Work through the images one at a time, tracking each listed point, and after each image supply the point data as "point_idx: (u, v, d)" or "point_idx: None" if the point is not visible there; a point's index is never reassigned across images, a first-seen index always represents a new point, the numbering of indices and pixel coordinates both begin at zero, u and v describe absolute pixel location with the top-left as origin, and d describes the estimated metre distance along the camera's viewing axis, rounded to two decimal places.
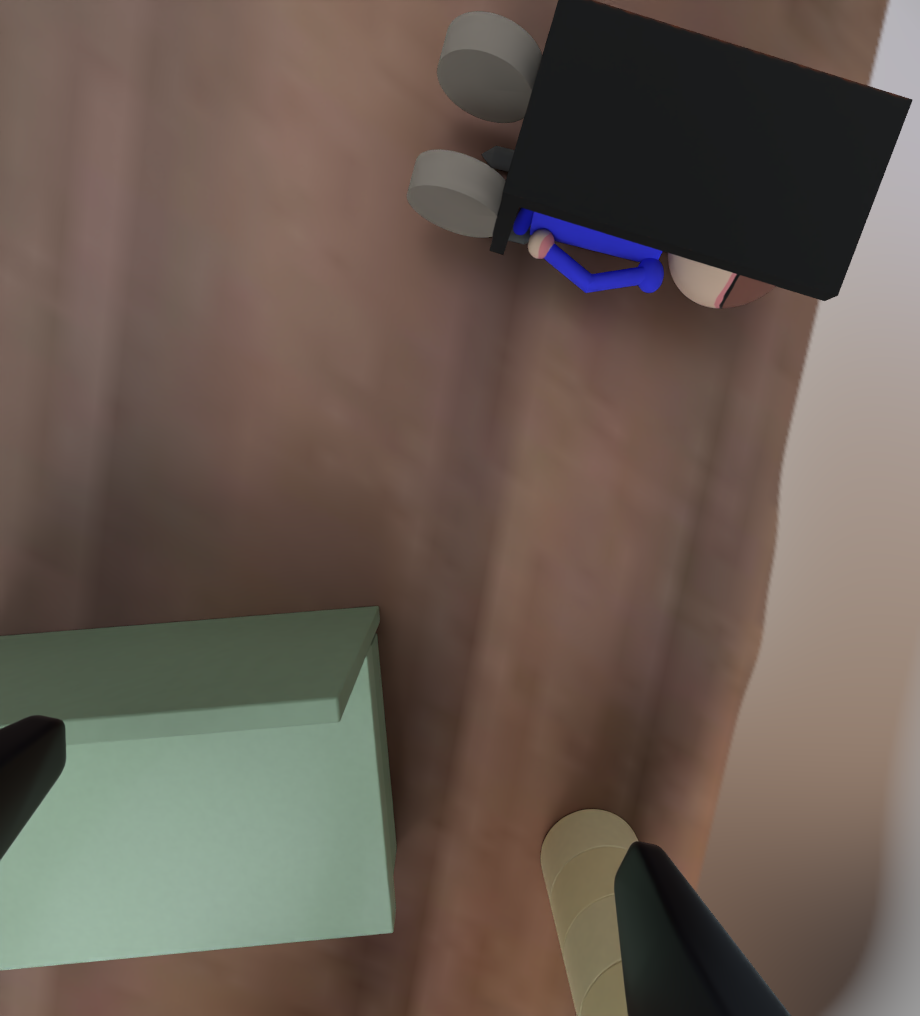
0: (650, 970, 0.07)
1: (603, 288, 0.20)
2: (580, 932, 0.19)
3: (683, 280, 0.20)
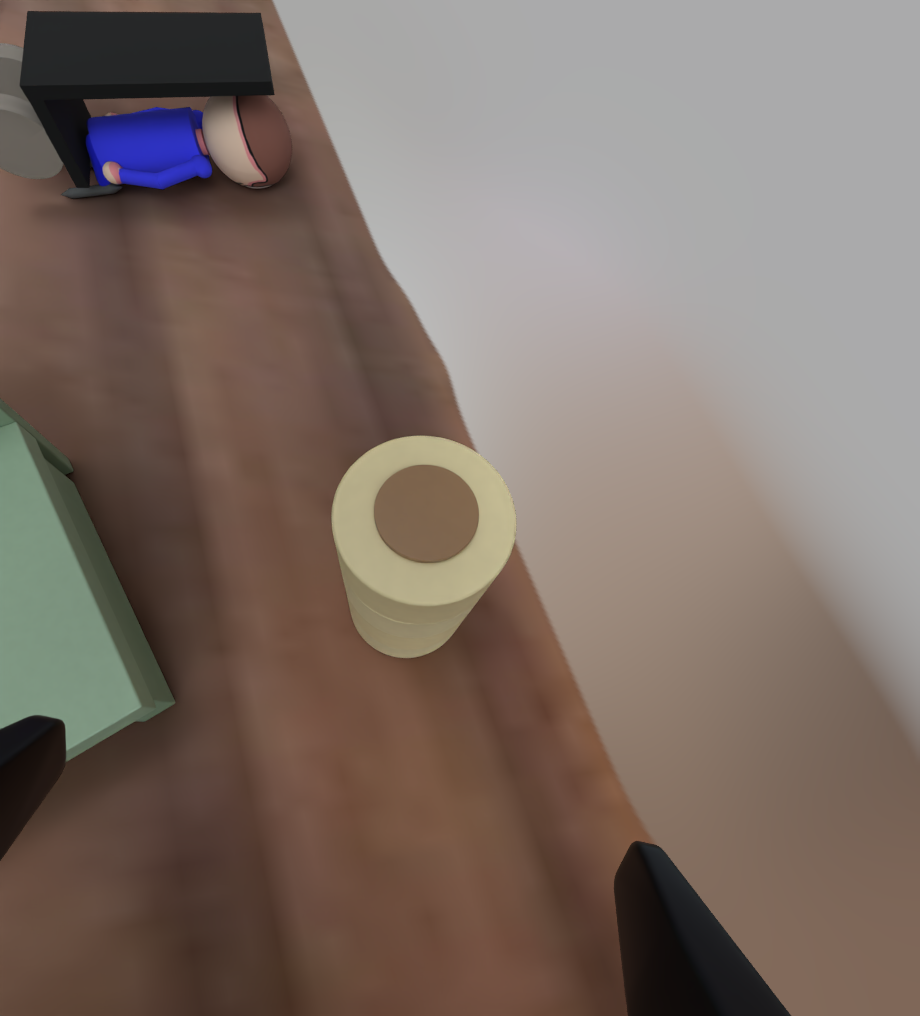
0: (650, 970, 0.07)
1: (170, 179, 0.27)
2: None
3: (225, 161, 0.28)
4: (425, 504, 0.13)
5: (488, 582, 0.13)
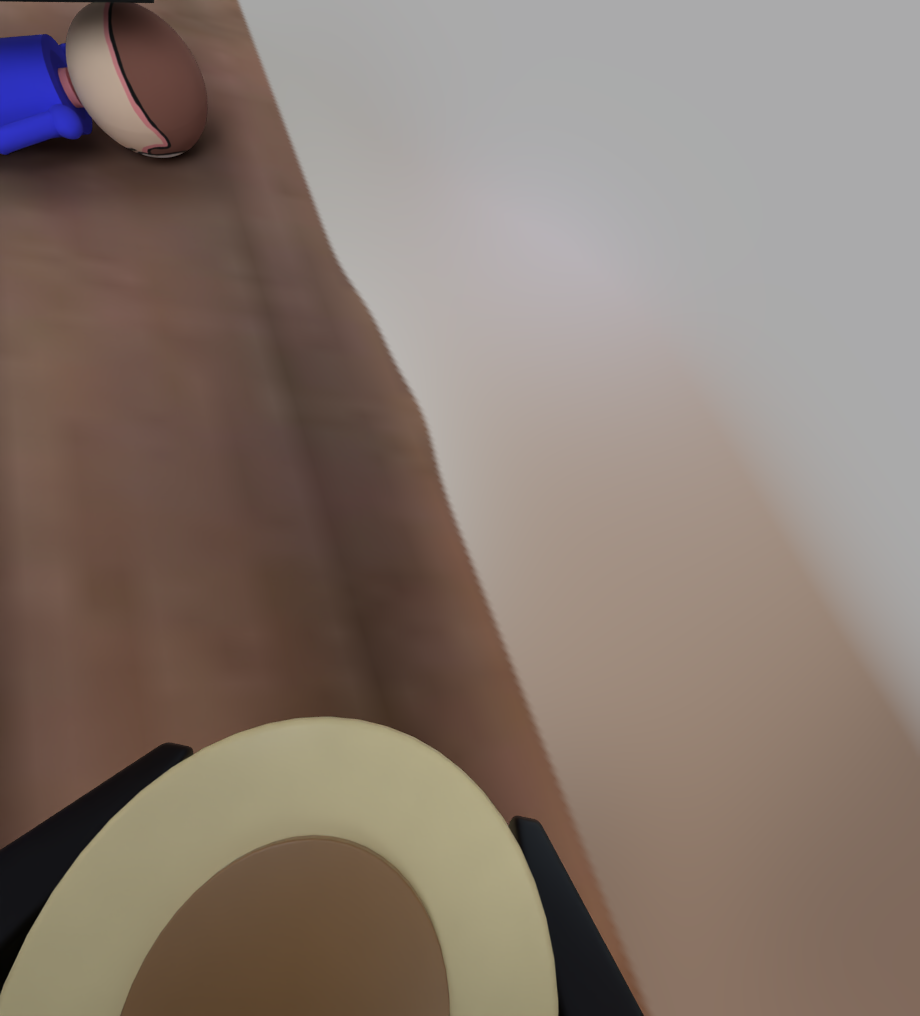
0: None
1: (14, 138, 0.18)
2: None
3: (101, 115, 0.19)
4: (284, 1007, 0.04)
5: None
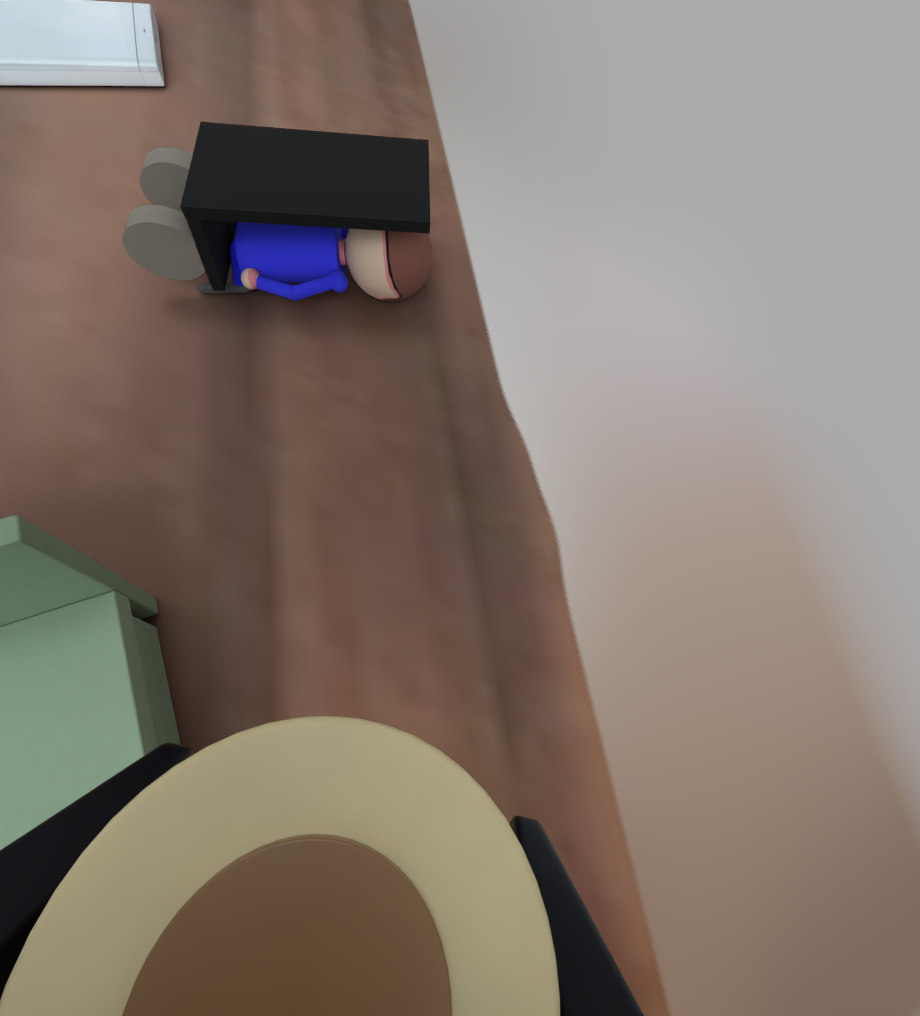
0: None
1: (305, 292, 0.26)
2: None
3: (362, 278, 0.27)
4: (286, 1004, 0.04)
5: None
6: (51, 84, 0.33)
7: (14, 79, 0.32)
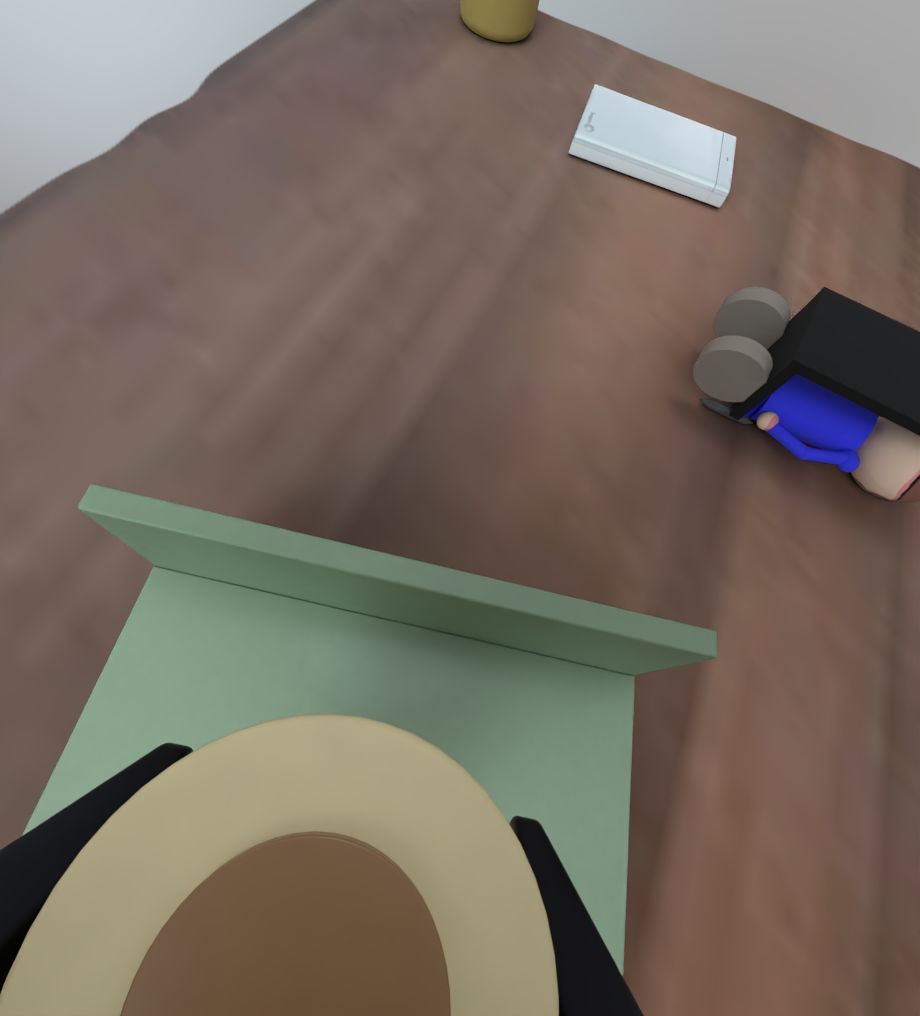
0: None
1: (815, 458, 0.27)
2: None
3: (873, 470, 0.27)
4: (286, 1002, 0.04)
5: None
6: (636, 177, 0.38)
7: (613, 164, 0.38)
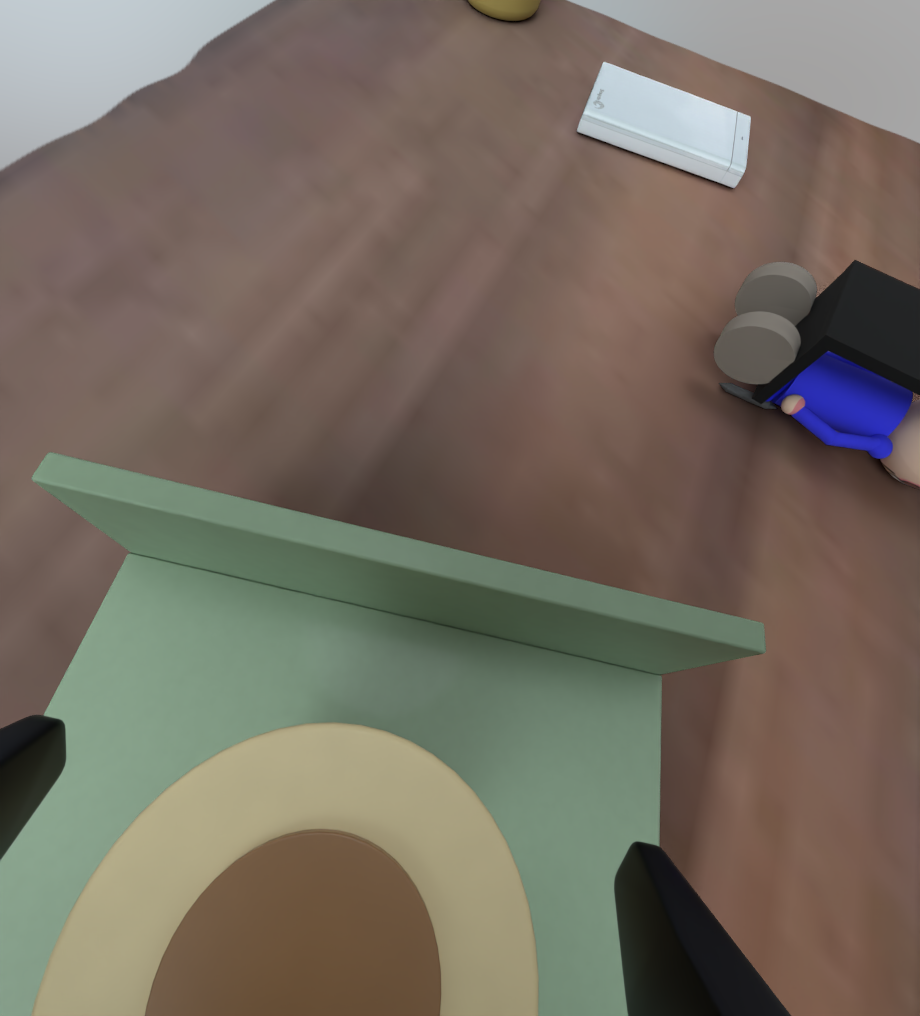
0: (650, 970, 0.07)
1: (845, 443, 0.25)
2: None
3: (907, 456, 0.25)
4: (295, 979, 0.05)
5: None
6: (647, 156, 0.36)
7: (624, 143, 0.36)
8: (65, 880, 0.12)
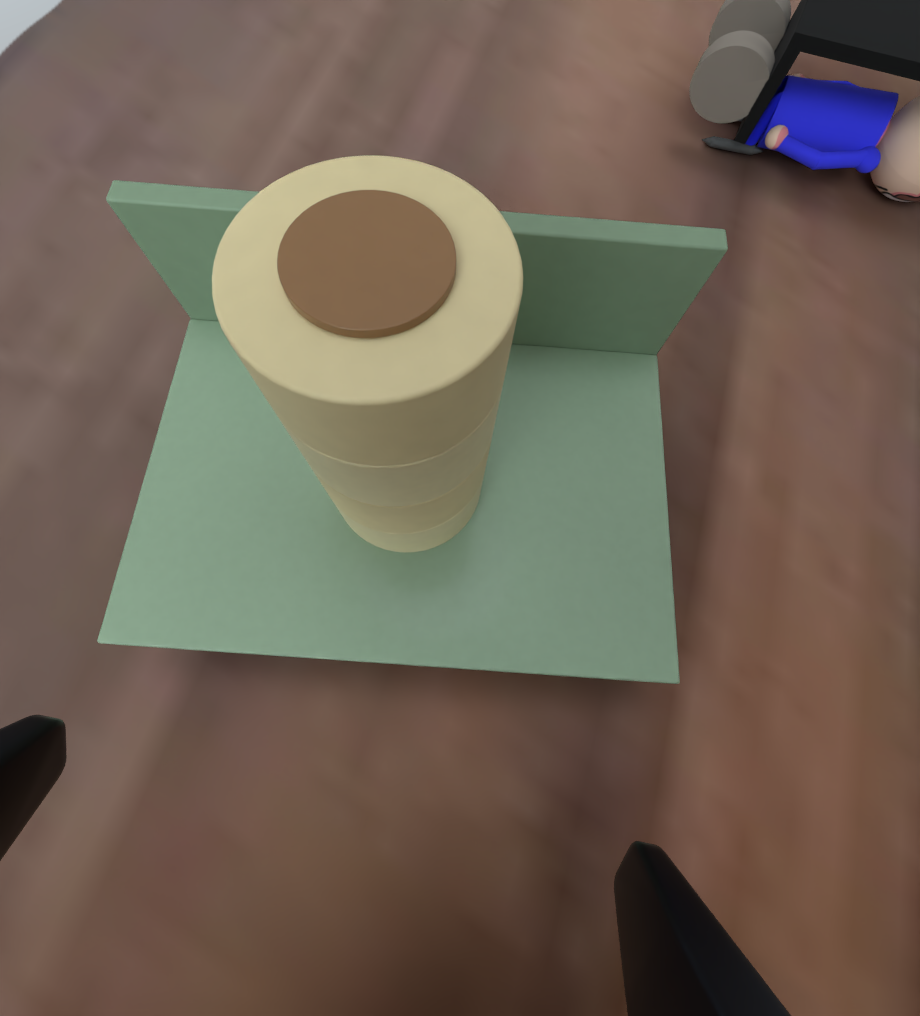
0: (650, 970, 0.07)
1: (831, 162, 0.25)
2: None
3: (896, 163, 0.25)
4: (362, 247, 0.08)
5: (486, 354, 0.08)
6: None
7: None
8: (203, 531, 0.16)
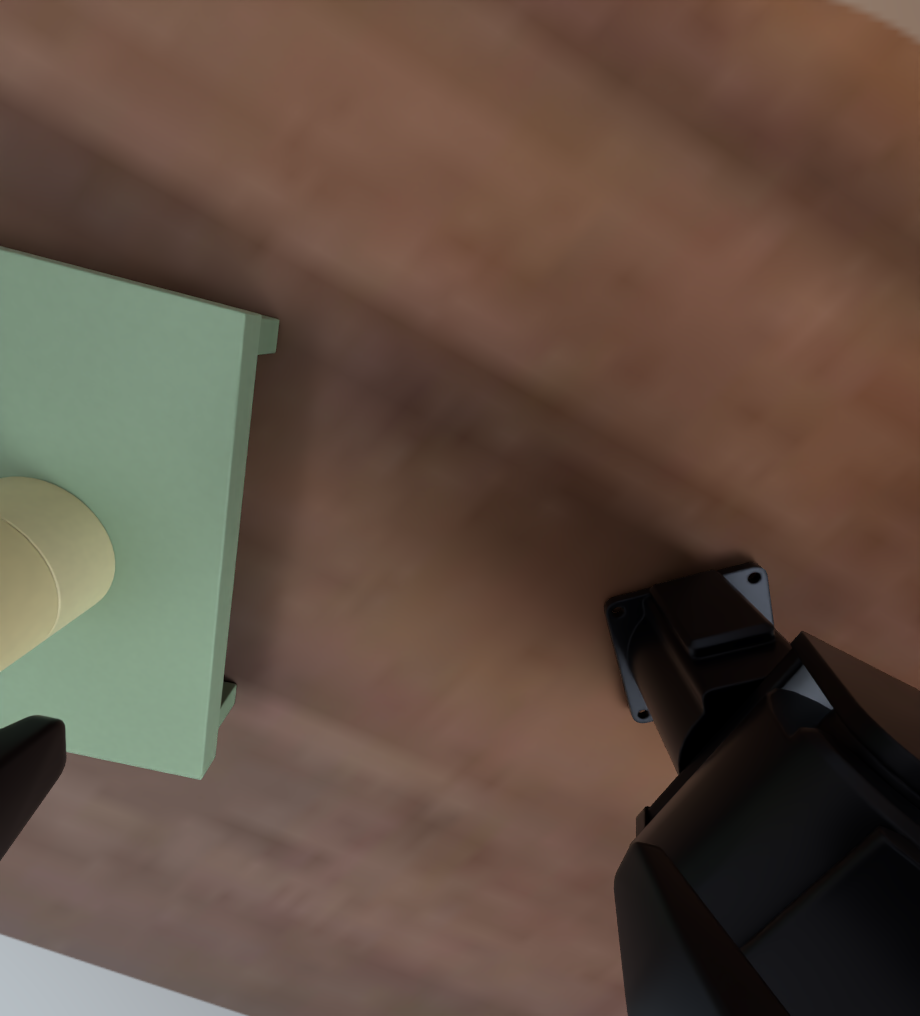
0: (650, 970, 0.07)
1: None
2: None
3: None
4: None
5: None
6: None
7: None
8: (108, 713, 0.19)
